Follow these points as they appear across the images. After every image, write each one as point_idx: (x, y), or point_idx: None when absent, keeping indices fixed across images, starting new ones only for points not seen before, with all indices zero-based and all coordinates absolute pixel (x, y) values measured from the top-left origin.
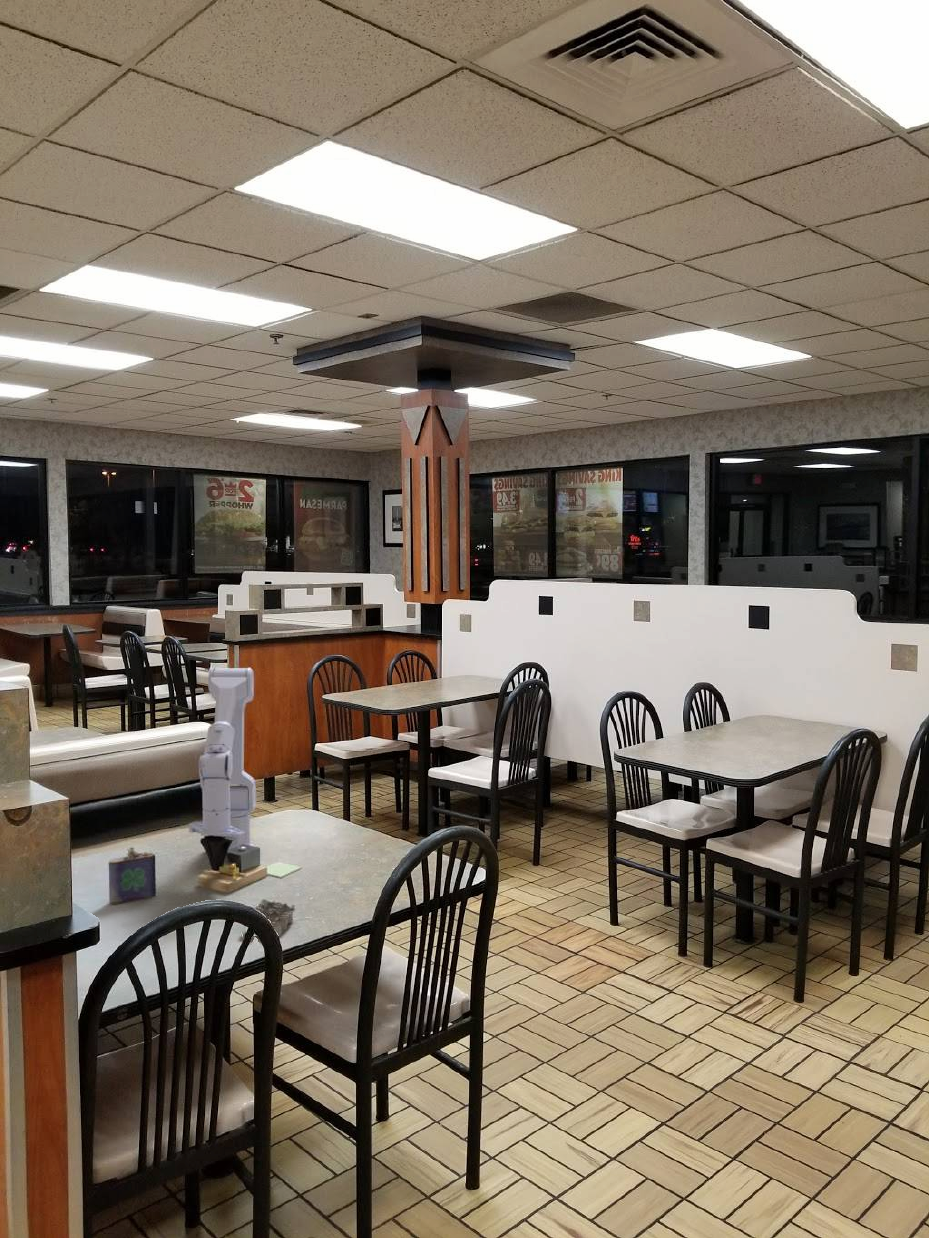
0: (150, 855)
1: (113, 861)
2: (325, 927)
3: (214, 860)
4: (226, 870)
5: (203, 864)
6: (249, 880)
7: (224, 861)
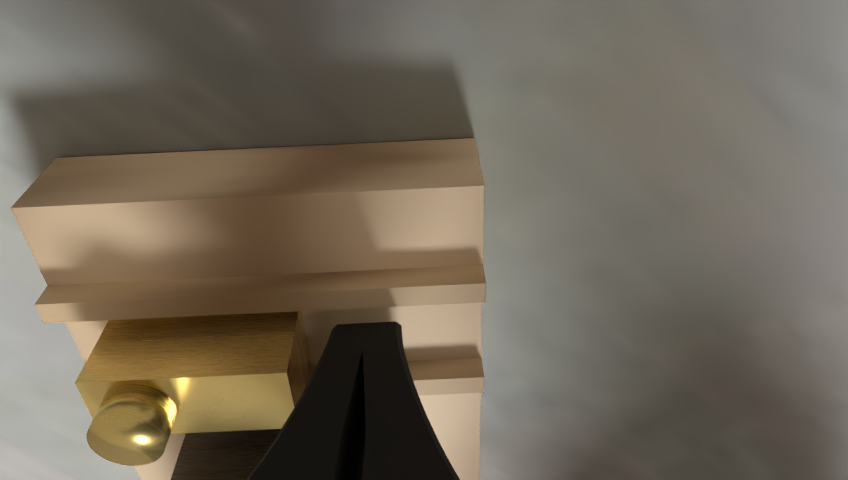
0: None
1: None
2: None
3: (317, 404)
4: (186, 357)
5: (746, 426)
6: None
7: None
